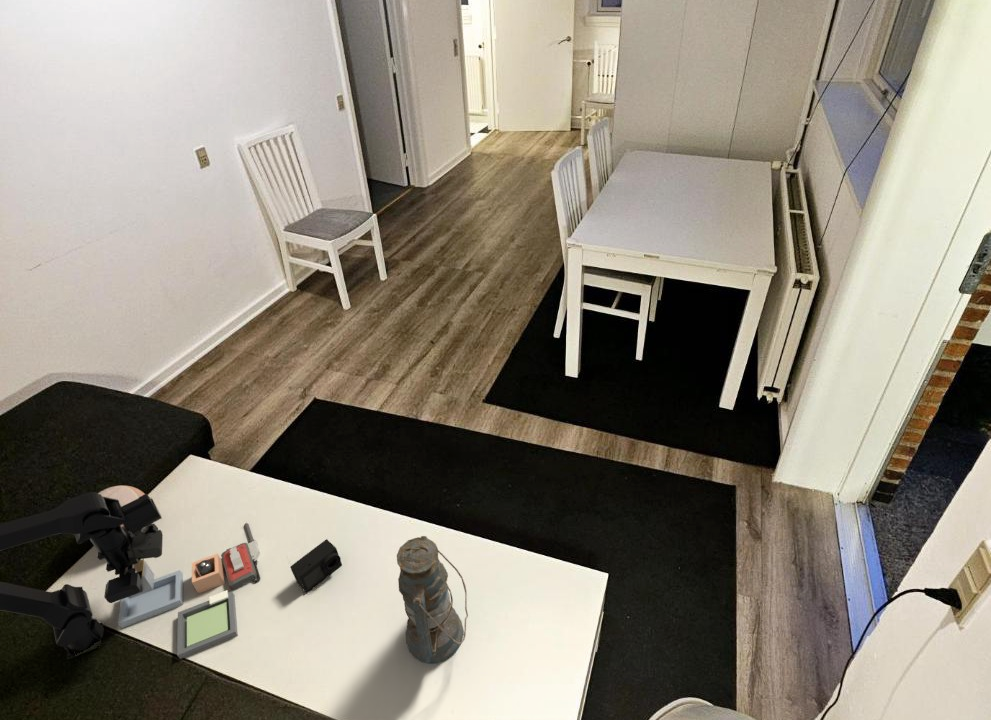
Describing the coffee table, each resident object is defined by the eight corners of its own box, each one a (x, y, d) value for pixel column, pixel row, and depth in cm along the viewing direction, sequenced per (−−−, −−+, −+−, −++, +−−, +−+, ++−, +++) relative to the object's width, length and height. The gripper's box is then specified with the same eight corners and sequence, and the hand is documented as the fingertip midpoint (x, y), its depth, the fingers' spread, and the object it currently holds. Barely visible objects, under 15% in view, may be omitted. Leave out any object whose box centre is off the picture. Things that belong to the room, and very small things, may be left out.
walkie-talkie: (270, 579, 140) (251, 525, 154) (264, 568, 137) (246, 514, 151) (233, 597, 136) (218, 540, 150) (227, 587, 134) (212, 529, 148)
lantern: (410, 595, 133) (390, 511, 116) (471, 592, 133) (459, 508, 116) (401, 681, 118) (375, 599, 100) (469, 678, 117) (456, 595, 100)
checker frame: (181, 660, 124) (176, 654, 122) (181, 615, 132) (177, 609, 131) (238, 636, 127) (234, 630, 126) (235, 594, 136) (231, 588, 135)
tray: (123, 629, 130) (118, 623, 129) (126, 597, 137) (121, 591, 136) (183, 606, 134) (179, 600, 133) (183, 575, 141) (180, 569, 140)
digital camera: (309, 597, 135) (301, 579, 131) (297, 583, 138) (289, 566, 134) (345, 567, 141) (339, 550, 137) (332, 555, 144) (326, 538, 140)
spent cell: (205, 585, 138) (196, 570, 135) (205, 576, 140) (196, 561, 137) (217, 580, 139) (209, 566, 136) (217, 571, 141) (208, 557, 138)
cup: (199, 594, 137) (191, 582, 134) (198, 575, 141) (191, 563, 138) (225, 584, 139) (218, 572, 136) (224, 565, 143) (217, 553, 140)
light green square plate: (188, 648, 125) (186, 646, 125) (188, 619, 131) (186, 617, 130) (229, 631, 128) (228, 629, 127) (227, 603, 134) (226, 601, 133)
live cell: (131, 597, 130) (119, 581, 126) (133, 581, 133) (121, 565, 129) (153, 589, 131) (141, 573, 127) (154, 574, 134) (143, 557, 131)
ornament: (96, 529, 155) (69, 492, 146) (155, 502, 162) (132, 465, 153) (103, 566, 145) (74, 529, 136) (165, 536, 152) (142, 498, 143)
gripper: (150, 559, 118) (178, 602, 127) (154, 498, 132) (179, 540, 141) (89, 581, 114) (122, 623, 123) (100, 515, 129) (129, 557, 138)
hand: (141, 583), depth 131 cm, fingers closed on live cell, 4 cm apart
